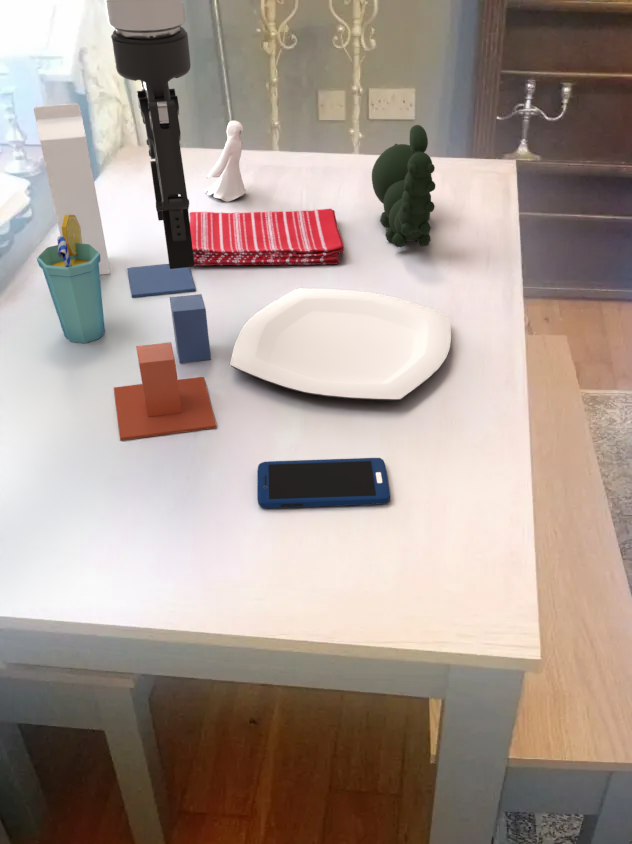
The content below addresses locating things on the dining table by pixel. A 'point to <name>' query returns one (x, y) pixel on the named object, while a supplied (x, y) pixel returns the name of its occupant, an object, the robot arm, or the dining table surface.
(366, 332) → the plate
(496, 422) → the dining table surface
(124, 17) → the robot arm
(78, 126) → the milk
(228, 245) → the dish towel
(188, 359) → the blue block
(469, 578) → the dining table surface
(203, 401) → the terracotta mat
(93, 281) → the cup
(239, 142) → the figurine
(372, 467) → the cell phone
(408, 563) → the dining table surface
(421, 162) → the toy figurine
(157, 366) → the terracotta block
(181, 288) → the blue mat
